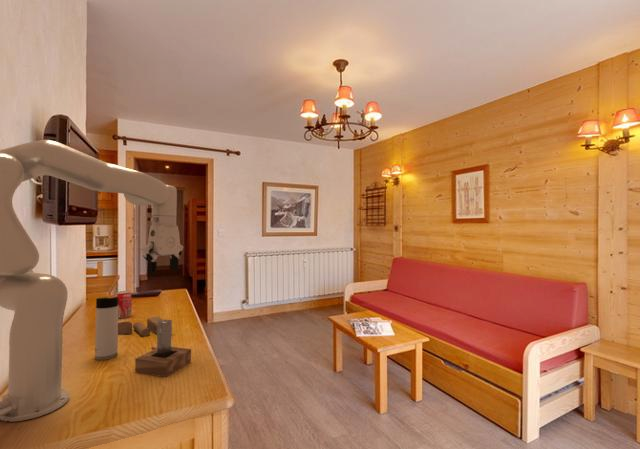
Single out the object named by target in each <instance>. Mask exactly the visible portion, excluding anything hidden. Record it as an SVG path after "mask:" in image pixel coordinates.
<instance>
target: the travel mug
mask: <svg viewBox="0 0 640 449" xmlns="http://www.w3.org/2000/svg"><path fill="white" fill-rule="evenodd" d="M95 304H96V305H95V327H94V328H95V332H94V333H95V334H94V336H95V337H94V344H95V345H94V346H95V347H94V358H95V360H97V361H103V360H104V361H105V360H109V359H112V358H115V357H117V355H118V347H119V346H118V345H119V342H118V340H119V338H118V337H119V335H118V323H119V318H118V297H115V296H114V297H98V298H96V301H95Z"/></svg>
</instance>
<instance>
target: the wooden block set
mask: <svg viewBox="0 0 640 449" xmlns="http://www.w3.org/2000/svg"><path fill="white" fill-rule="evenodd" d="M160 320H164V319H163V318H161V317H160V316H153V317H148V318H147V320H146V325H144V324H143V323H142V322H140V321H136V322H135V323H132V322H131V321H130V320H127V321H121V322H118V336H119V335H133V330H134V331H136V332H137V333H138V334H140V336H142V337H147V336H149V335H150V333H151V332H152V333H153V334H156V335H157V322H158V321H160Z"/></svg>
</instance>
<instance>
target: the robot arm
mask: <svg viewBox="0 0 640 449" xmlns="http://www.w3.org/2000/svg"><path fill="white" fill-rule="evenodd" d="M41 176H43V177H44V176H50V177H52V178H56V179H60V180H63V181H65V182H69V183H72V184H74V185H78V186H80V187H83V188H86V189H88V190H91V191H95V192H96V191H97V192H103V193H113V194H115V193H118V194H123V196H124V199H125V200H126V201H127V202H128V203H129V204H132V205H134V206H151V218H150V222H151V225H150V226H149V227H150V228H149V232H148V240H147V244H146V245H145V246H143V247H142V248H141V249H140V250H141V253H142V257H143V258H144V259H145V262H146V263H147V265H146V266H147V267H146V268H147V275H157V274H158V273H157V269H158V268H157V266H158V262H157V261H156V260H157V259H158V257H160V256H170V258H169V270H170V271H176V272H177V271H179V260H180V259H181V255H182V251H183V250H184V246H183V245H182V244H181V241H180V240H181V239H180V231H179V226H178V225H177V205H178V204H177V203H178V201H177V196H178V194H177V192H178V191H177V188H176V186H174V185H170V184H169V185H168V184H165V183H164V182H163V181H161V180H160V179H158V178H155V177H153V176H151V175H149V174H147V173H144V172H142V171H139V170H134V169H132V168H127V167H124V166H121V165H117V164H114V163H110V162H109V163H108V162H107V161H103V160H100V159H99V158H96V157H94V156H92V155H89V154H87V153H85V152H82V151H80V150H78V149H76V148H73V147H71V146H69V145H66V144H63V143H61V142H59V141H55V140H51V139H40V140H35V141H30V142H25V143H20V144H18V145H14V146H11V147H8V148H3V149H0V307H1V308H3V309H6V310H11V311H14V312H13V313H14V314H13V318H12V321H11V325H10V329H9V330H10V331H9V339H8V347H9V348H8V353H9V354H8V384H7V386H8V387H7V388H8V389H7V392H8V393H7V394H5V395H2V397H1V401H0V420H1V421H2V422H7V421H9V422H11V423H13V422H21V421H27V420H33V419H35V418H36V419H37V418H39V417H42V416H45V415H47V414H50V413H52V412H54V411H57V410H58V409H59V408H61V407H63V406H64V405H65V404H66V403H67V402H68V401H69V399H70V393H69V391H68V390H66V389H62V383H63V382H62V381H63V380H62V378H63V377H62V376H63V375H62V373H63V372H62V371H63V370H62V368H63V329H64V328H63V325H64V324H63V323H64V316H65V310H66V307H67V306H66V305H67V301H68V295H69V294H68V289H67V286H66V284H65V282H64V281H62V280H61V279H60V278H58V277H57V276H54V275H51V274H49V273H48V274H47V273H40V272H39V273H38V272H34V271H33V269H34V268H36V266H37V265H38V263H39V260H40V253H39V250H38V248H37V246H36V245H35V244H34V242H33V240H32V238H31V237H30V235H29V234H28V232H27V230H26V229H25V227H24V226H23V225H22V222H21V220H19V217H18V216H17V214H16V211H15V209H14V207H13V198H14V195H15V193H16V190H17V189H18V188H19V186H20V185H21V184H22V183H23V182H26V181H29V180H32V179H34V178H37V177H38V178H39V177H41ZM3 420H4V421H3Z"/></svg>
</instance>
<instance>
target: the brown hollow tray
mask: <svg viewBox="0 0 640 449" xmlns="http://www.w3.org/2000/svg"><path fill="white" fill-rule="evenodd" d="M190 361H191V362H192V349H191V348H186V347H179V346H178V347H177V346H171V355H170V356H169V357H167V358H160V357H157V349H152V350H151V351H148V352H146V353H144V354H141V355H140V356H138V357H136V358H135V361H134V364H135V365H134V368H135V369H134V370H135V371H134V373H138V374H140V373H141V374H144V375H145V374H146V375H152V376H159V377H163V378H164V377H165V378H167V377H168V376H170V375H171V374H173V373H175V372H177V371H178V370H180V369H182V368H183V367H184V365H185V366H186V365H189V364H190V363H191V362H190ZM189 362H190V363H189Z"/></svg>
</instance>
